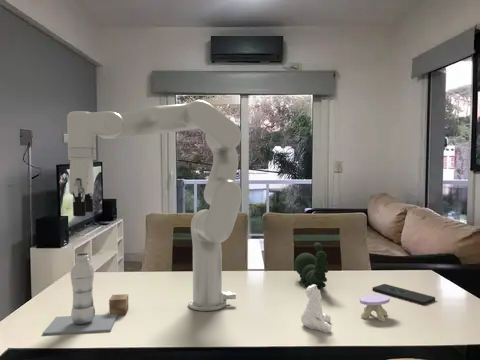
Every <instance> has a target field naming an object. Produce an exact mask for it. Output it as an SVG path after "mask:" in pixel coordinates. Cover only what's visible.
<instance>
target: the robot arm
mask: <svg viewBox="0 0 480 360" xmlns="http://www.w3.org/2000/svg"><path fill="white" fill-rule="evenodd" d="M66 118H67V120H66V121H67V122H66V123H67V124H66V125H67V157H68V158H67V160H69V161H70V162H69V178H68V181H69V182H68V185H69V186H68V193H69V194H70V195H72V196H73V197H72V215H73V217H85V216H86V213H92V212H94V199H93V198H94V197H93V196H94V195H93V192H94V189H95V188H94V187H95V185H94V184H95V180H94V178H95V177H94V160H95V161H96V160H97V147H96V146H97V145H96V144H97V141H96V140H97V139H96V137H97V136H98V137H100V138H101V139H106V140H108V139H109V140H111V139H118V138H119V139H121V138H128V137H136V136H148V135H149V136H153V135H159V134H160V135H161V134H169V133H175V132H185V131H193V130H200V131H202V132H203V134H205V135H204V136H205V142H206V145H207V146H208V147H209V149H210V151H211V153H212V157H213V158H212V160H213V161H212V166H211V170H210V172H209V176H208V178H207V182H206V185H205V188H204V190H203V200H204V201H205V203H207V204H208V205H209V207H208V208H209V209H201V210H198V211H197V212H195V214H194V215H193V217H192V218H191V222H190V235H191V242H192V298H191V299H189V300H188V304H187V306H188V307H189V308H190V309H192V310H193V311H200V312H201V311H202V312H210V311H211V312H212V311H218V310H221V309H223V308H225V307H226V306H227V300H236V299H237V294H236V293H237V292H236V293H235V292H233V293H232V292H231V291H227V292H225V291H224V289H223V282H222V280H223V279H222V277H223V276H222V273H223V270H222V269H223V268H222V266H223V264H222V263H223V262H222V261H223V260H222V257H223V252H222V250H223V249H222V243H224V242H225V241H226V240H227V239H229V237H230V236H231V235H232V234H231V233H232V232H233V229H234V226H235V223H236V221H237V217H238V213H239V211H240V208H241V203H242V199H243V196H242V194H243V193H242V189H241V186H240V185H239V184H238V183H237V182H236V181H235V180H236V177H237V173H238V169H239V162H240V160H239V155H238V152H237V149H236V148H237V146H239V145H240V143H241V141H242V132H241V129H240V127H239V126H238V125H237V124H236V123H235V122H234V121H233V120H232V119H230V118H229V117H228V116H226V115H225V114H224V113H222V112H221V111H220V110H218V109H217V108H216V107H215V106H214V105H212V104H211V103H209V102H208V101H205V100H202V99H197V100H193V101H192V102H186V103H177V104H168V105H167V104H165V105H154V106H149V107H146V108H142V109H140V110H136V111H132V112H122V113H117V112H115V111H110V110H108V111H107V110H105V111H97V112H95V111H93V112H90V111H85V110H84V111H82V110H75V111H69V112H68V114H67V116H66Z"/></svg>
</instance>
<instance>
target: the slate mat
mask: <svg viewBox="0 0 480 360" xmlns="http://www.w3.org/2000/svg"><path fill="white" fill-rule="evenodd" d="M118 316H119V315H118V314H109V313H108V314H95V317H94V319H93V320H92V321H91V322H89V323H86V324H75V323H74V322H73V321H72V318H71V315H68V316H66V315H65V316H55V317H54V319H52V321H51V322H50V323H49V325H48V326H47V327H46V328H45V329H44V331H42V336H51V335H71V334H89V333H90V334H92V333H104V332H106V333H107V332H112V329H113V327H114V324H115V322H116V321H117V318H118Z"/></svg>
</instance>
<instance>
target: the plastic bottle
mask: <svg viewBox="0 0 480 360" xmlns="http://www.w3.org/2000/svg"><path fill="white" fill-rule="evenodd" d="M74 262H75V264H74V266H72V268H71V271H70V273H69V275H70V281H71V286H72V287H71V288H72V307H71V314H70V316H71V318H72V321H73V322H74V323H75V324H86V323H89V322H91V321H92V320H93V319H94V317H95V315H96V308H95V305H94V298H93V297H94V296H93V289H94V287H93V286H94V277H95V269H94V268H93V266H92V265H91V264H90V254H89V253H88V252H84V253H83V252H81V253H76V254H75V260H74Z"/></svg>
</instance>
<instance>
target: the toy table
mask: <svg viewBox="0 0 480 360" xmlns="http://www.w3.org/2000/svg"><path fill="white" fill-rule="evenodd" d="M389 302H390V296H389V295H385V294H369V295H364V296H361V297H359V303H360V304H362V305H365V307H364V308H363V312H361V315H360V318H362V319H363V320H365V319H369V318H370V317H371V316H370V315H371V314H372V312H375V313H376V317H377V320H379V321H380V322H386V318H385V316H387V315H388V311H387V310H386V309H385V308H384V307H383V306H382V305H385V304H388V303H389Z"/></svg>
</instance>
